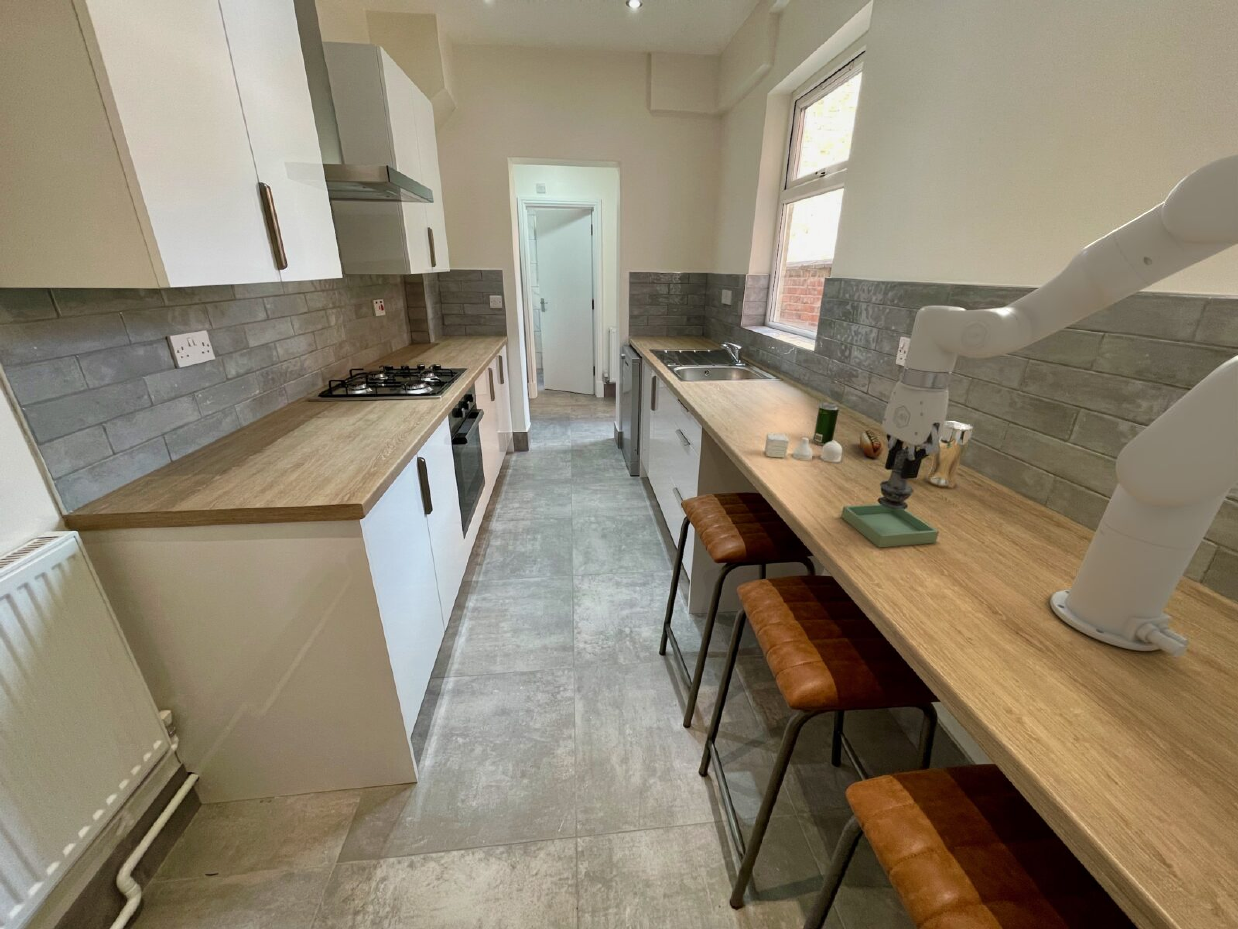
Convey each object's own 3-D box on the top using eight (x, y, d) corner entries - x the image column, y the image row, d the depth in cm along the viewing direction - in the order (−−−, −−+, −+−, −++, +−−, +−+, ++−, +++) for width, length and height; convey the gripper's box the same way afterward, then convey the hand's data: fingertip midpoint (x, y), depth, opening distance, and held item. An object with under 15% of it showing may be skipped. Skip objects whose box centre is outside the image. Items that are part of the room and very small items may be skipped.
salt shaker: (913, 511, 93) (930, 453, 88) (880, 508, 94) (895, 450, 89) (903, 498, 98) (918, 442, 94) (872, 495, 99) (885, 439, 95)
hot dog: (862, 459, 134) (866, 442, 133) (855, 443, 146) (859, 428, 144) (882, 461, 133) (886, 444, 131) (873, 445, 145) (877, 429, 143)
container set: (766, 457, 134) (769, 439, 132) (764, 451, 139) (767, 432, 137) (843, 463, 132) (847, 443, 129) (837, 456, 136) (841, 437, 134)
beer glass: (950, 491, 116) (969, 431, 110) (919, 482, 121) (935, 424, 115) (960, 483, 120) (978, 425, 114) (929, 475, 125) (945, 418, 119)
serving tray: (935, 542, 94) (939, 531, 93) (878, 547, 92) (881, 535, 91) (892, 513, 105) (895, 502, 104) (840, 516, 103) (843, 506, 102)
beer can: (827, 447, 143) (834, 407, 138) (809, 442, 146) (816, 403, 142) (834, 443, 146) (842, 404, 142) (817, 438, 150) (824, 400, 145)
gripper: (875, 369, 94) (856, 458, 101) (942, 390, 79) (914, 493, 86) (910, 369, 95) (888, 456, 102) (982, 389, 80) (951, 490, 87)
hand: (900, 472), depth 94 cm, fingers closed on salt shaker, 3 cm apart
